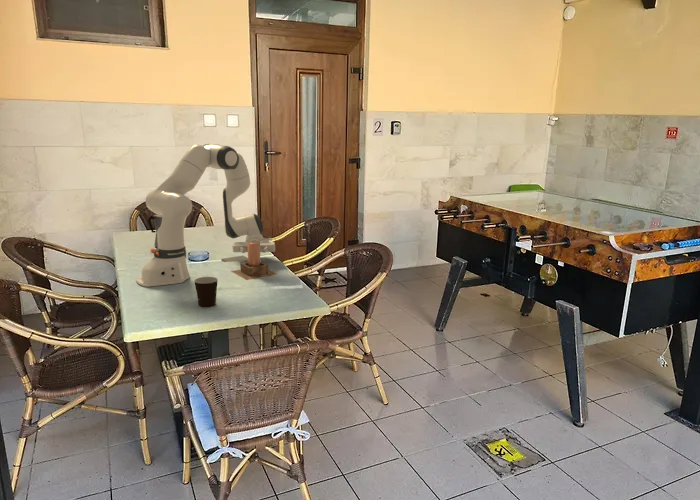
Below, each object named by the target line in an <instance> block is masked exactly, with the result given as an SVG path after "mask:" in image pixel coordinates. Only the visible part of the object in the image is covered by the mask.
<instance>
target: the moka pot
mask: <svg viewBox="0 0 700 500" xmlns="http://www.w3.org/2000/svg"><path fill="white" fill-rule="evenodd" d="M151 220H153V221H154V228H155V230H154V229H153V226H152V222H151ZM147 223H148V225H149V228H150V231H151V233H155V238H154V248H158V238H157V230H158V229H159V228H160V226H161V223H162V215H159V214H153V215H150V217H148V219H147Z"/></svg>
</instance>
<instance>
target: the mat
mask: <svg viewBox="0 0 700 500" xmlns="http://www.w3.org/2000/svg"><path fill="white" fill-rule="evenodd" d="M221 261H222V262H224V263H232V262H234V263H235V262H236V263H237V262H248V256H245V255H238V256H231V257H230V256H229V257H225V258H221Z"/></svg>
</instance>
